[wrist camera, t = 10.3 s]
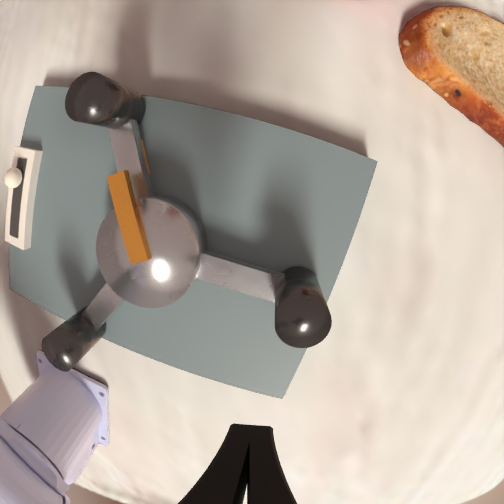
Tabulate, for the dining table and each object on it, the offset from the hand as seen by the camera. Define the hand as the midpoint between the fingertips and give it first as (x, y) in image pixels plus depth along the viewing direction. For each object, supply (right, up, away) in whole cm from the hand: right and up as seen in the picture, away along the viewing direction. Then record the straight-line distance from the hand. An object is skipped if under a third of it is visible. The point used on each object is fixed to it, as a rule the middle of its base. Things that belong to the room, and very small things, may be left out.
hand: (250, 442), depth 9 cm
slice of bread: (+20, +18, +5) cm, 27 cm away
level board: (-6, +8, +9) cm, 14 cm away
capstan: (-6, +9, +7) cm, 13 cm away
